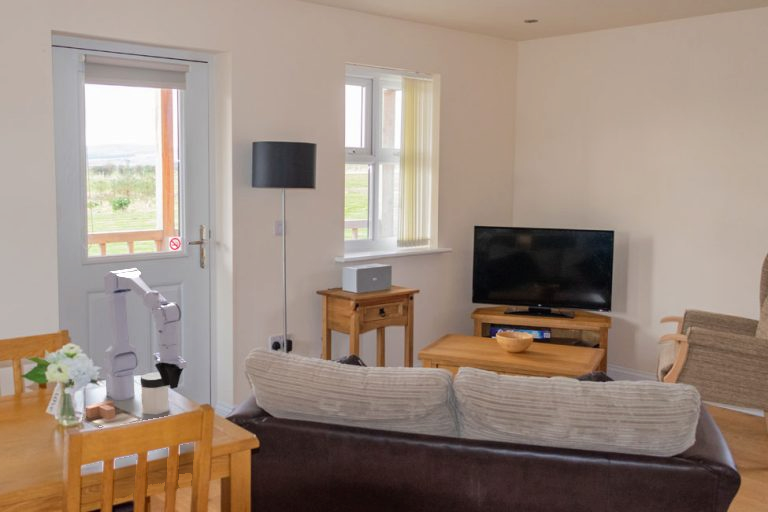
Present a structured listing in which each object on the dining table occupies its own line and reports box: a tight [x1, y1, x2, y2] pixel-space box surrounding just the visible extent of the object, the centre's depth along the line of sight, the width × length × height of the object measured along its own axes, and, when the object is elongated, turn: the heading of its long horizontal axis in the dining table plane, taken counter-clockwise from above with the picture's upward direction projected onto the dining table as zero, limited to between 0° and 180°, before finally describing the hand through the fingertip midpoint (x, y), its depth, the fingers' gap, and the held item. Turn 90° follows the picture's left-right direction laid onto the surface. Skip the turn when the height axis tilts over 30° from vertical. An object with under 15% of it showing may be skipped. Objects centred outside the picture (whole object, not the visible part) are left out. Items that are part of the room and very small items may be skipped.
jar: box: [140, 371, 170, 415], centre depth 249 cm, size 9×8×12 cm
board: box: [81, 405, 145, 429], centre depth 243 cm, size 20×13×1 cm, turn 49°
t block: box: [85, 400, 115, 420], centre depth 244 cm, size 8×8×3 cm
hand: (170, 386), depth 243 cm, fingers open, 3 cm apart
